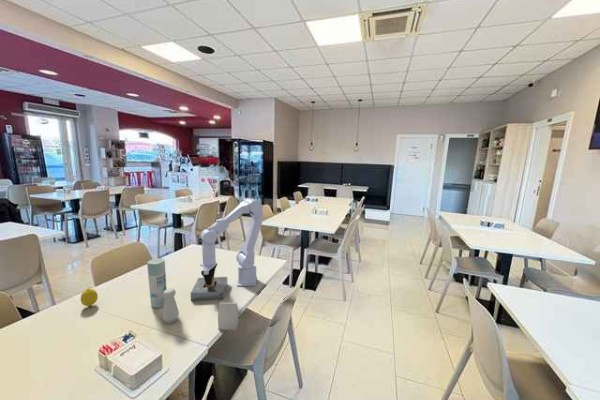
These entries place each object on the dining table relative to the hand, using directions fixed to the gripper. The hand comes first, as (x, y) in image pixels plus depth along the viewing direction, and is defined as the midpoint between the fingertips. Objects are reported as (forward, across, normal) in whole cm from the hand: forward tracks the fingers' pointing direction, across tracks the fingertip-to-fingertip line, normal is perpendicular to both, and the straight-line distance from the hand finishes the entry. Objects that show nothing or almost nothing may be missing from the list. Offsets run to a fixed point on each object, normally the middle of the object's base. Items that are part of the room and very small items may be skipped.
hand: (210, 281), depth 120 cm
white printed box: (+6, +26, +12) cm, 29 cm away
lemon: (+6, +7, -48) cm, 49 cm away
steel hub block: (+5, 0, 0) cm, 5 cm away
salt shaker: (+6, +20, -11) cm, 24 cm away
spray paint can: (+6, +8, -20) cm, 22 cm away
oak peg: (+6, 0, 0) cm, 6 cm away
